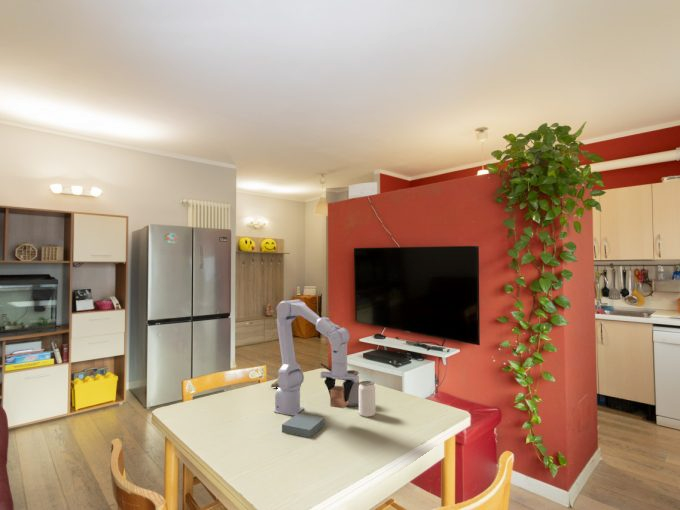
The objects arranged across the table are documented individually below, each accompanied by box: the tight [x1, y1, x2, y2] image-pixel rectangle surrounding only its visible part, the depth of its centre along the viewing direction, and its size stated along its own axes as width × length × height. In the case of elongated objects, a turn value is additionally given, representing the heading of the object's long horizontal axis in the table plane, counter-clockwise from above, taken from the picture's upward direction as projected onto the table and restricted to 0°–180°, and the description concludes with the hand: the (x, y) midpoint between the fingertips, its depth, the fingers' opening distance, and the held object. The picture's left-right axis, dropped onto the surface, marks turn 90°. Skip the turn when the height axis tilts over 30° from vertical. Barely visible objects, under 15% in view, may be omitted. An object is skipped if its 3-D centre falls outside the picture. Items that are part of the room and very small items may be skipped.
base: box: [281, 412, 325, 438], centre depth 130 cm, size 11×11×2 cm
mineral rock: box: [270, 379, 279, 388], centre depth 178 cm, size 11×4×8 cm
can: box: [358, 380, 376, 418], centre depth 143 cm, size 6×6×12 cm
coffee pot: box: [318, 363, 360, 407], centre depth 157 cm, size 21×12×15 cm, turn 63°
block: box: [329, 385, 348, 409], centre depth 134 cm, size 5×5×6 cm
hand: (339, 399), depth 134 cm, fingers closed on block, 5 cm apart
